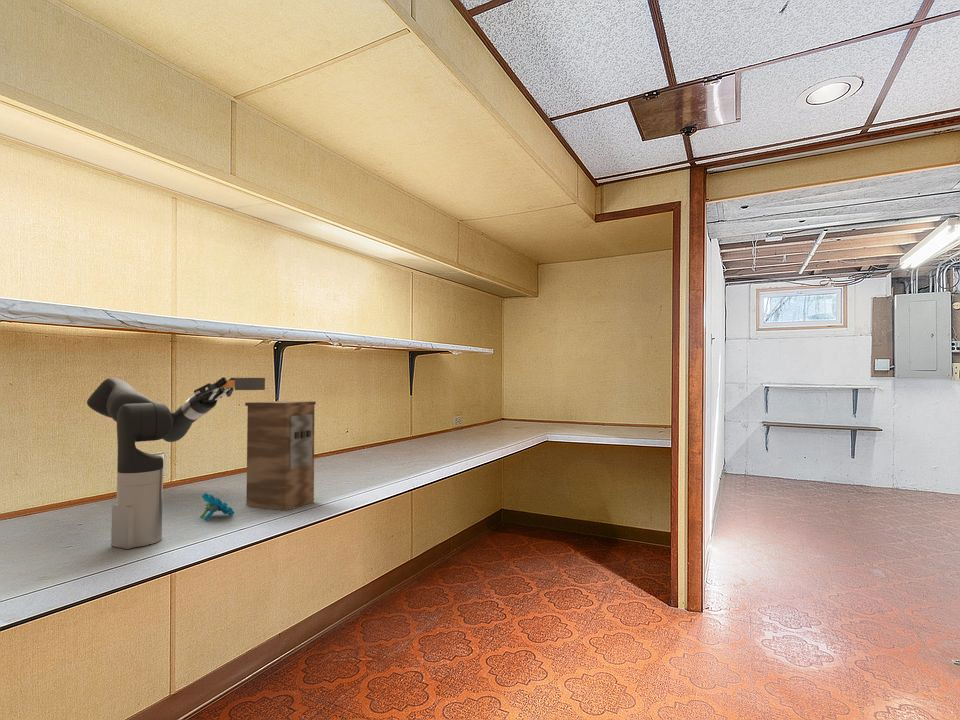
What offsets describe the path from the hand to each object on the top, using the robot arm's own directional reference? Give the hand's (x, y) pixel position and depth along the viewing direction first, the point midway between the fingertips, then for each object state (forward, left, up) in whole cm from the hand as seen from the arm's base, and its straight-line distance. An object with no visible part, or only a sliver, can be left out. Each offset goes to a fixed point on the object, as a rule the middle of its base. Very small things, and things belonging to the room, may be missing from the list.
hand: (229, 379), depth 168 cm
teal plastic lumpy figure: (-19, -19, -40) cm, 48 cm away
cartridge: (0, -4, -3) cm, 6 cm away
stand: (0, -24, -39) cm, 46 cm away
